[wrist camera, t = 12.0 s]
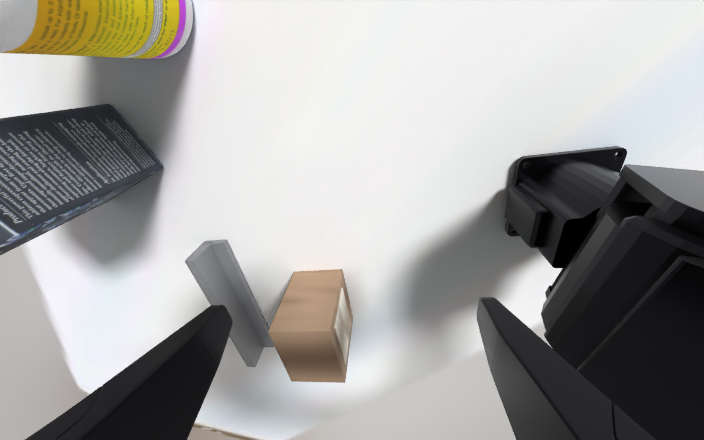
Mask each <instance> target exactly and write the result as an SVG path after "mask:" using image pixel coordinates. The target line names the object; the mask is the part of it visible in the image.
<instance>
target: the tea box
mask: <svg viewBox="0 0 704 440" xmlns="http://www.w3.org/2000/svg"><path fill="white" fill-rule="evenodd" d="M352 321H353V316H352V311H351V307H350V302H349V298H348V293H347V289H346V284H345V280H344V275H343V271H342V269H341V270H320V271H300V272H294V273H293V275H292V278H291V280H290V282H289V285H288V287H287V289H286V292H285V294H284V296H283V298H282V301H281V303H280V305H279V308H278V310H277V312H276V315H275V317H274V319H273V322H272V324H271V326H270V328H269V331H268V333H269V335H270V337H271V339H272V341H273V343H274V345H275V347H276V350H277V352H278V354H279V356H280V358H281V360H282V362H283V364H284V366H285V368H286V370H287V373H288V375H289V377H290V379H291V381H302V382H342V383H345V379H346V371H347V362H348V354H349V346H350V337H351V329H352Z"/></svg>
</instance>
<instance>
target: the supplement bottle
mask: <svg viewBox="0 0 704 440" xmlns="http://www.w3.org/2000/svg"><path fill="white" fill-rule="evenodd" d="M192 23H193V7H192V0H0V53H22V54H49V55H76V56H97V57H118V58H140V59H161V58H166V57H169V56H172V55H174V54H175V53H177V52H178V51H179V50H181V49H182V47H183V46H184V45H185V43H186V42H187V40H188V38H189V36H190V33H191V29H192Z"/></svg>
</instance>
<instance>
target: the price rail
mask: <svg viewBox="0 0 704 440" xmlns="http://www.w3.org/2000/svg"><path fill="white" fill-rule="evenodd" d="M185 263H186V264H187V266H188V268H189V269H190V271H191V273H192V274H193V276H194V278H195V279H196V281H197V283H198V284H199V286H200V288H201V289H202V291H203V293H204V294H205V296H206V298H207V299H208V301H209V303H210V304H211V305H214V304H223V305H225V306H226V308H227V310H228V312H229V313H230V315H231V317H232V320H233V324H232V328H231V331H230V334H229V336H230V338H231V340H232V341H233V343H234V345H235V346H236V348H237V350H238V351H239V353H240V355H241V356H242V358H243V360H244V361H245V363H246V365H247V366H248V367H256V364H257V362H258V360H259V357H260V355H261V353H262V350H263V348H264V347H274V346H275V345H274V343H273V341H272V339H271V337H270V335H269V333H268V331H269V328H268V326H267V324H266V322H265V320H264V318H263V316H262V313H261V311H260V309H259V307H258V305H257V303H256V301H255V299H254V296H253V294H252V292H251V290H250V288H249V286H248V284H247V282H246V279H245V277H244V275H243V273H242V271H241V269H240V267H239V264H238V262H237V260H236V258H235V256H234V254H233V252H232V250H231V247H230V245H229V243H228V241H227V240H216V241H205V242H203V243H202V244H201V245H200V246H199V247H198V248H197V249H196V250H195V251H194V252H193V253H192V254H191V255H190V256H189V257H188V258H187V259H186V260H185Z"/></svg>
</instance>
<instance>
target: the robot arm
mask: <svg viewBox="0 0 704 440" xmlns="http://www.w3.org/2000/svg"><path fill="white" fill-rule="evenodd" d="M617 152H618V154H617V155H616V156H615V157H613V156H614V154H615V153H617ZM626 155H627V151H626V149H624V148H622V147H619V146H614V147H605V148H595V149H586V150H577V151H568V152H558V153H549V154H540V155H530V156H524V157H521V158H520V159H519V160H518V161H517V163H516V168H515V174H514V180H513V185H512V186H511V187H510V188H509V192H508V199H507V205H506V211H505V218H506V219H507V221H506V227H505V231H506V232H507V234H508V235H509V236H521V237H522V239H523V240H524V241H525V242H526V244H527V245H528V246H529V247H531V248H537V249H538V250H539V251H540V252H541V254H542V255H543V256H544V257H545V258H546V259H547V261H548V262H549V263H550V264H551V265H552V267H554V268H563V269H562V270H561V272H560V274H559V275H558V277H557V278H556V280H555V282H554V283H553V285H552V286H549V287H548V289H547V291H546V298H547V300H546V301H545V303H544V305H543V309H542V312H541V315H542V319H543V323H544V326H545V329H546V332H545V333H544V336H545V338H546V339H547V341H548V342H549V344H550V345H551V347H552V348H553V349H552V348H551V347H550V346H549V345H548V344H546V343H545V342H544V341H543V340H542V339H541V338H540V337H538V336H537V335H536V334H535V333H534V332H533V331H532V330H531V329H529V328H528V327H527V326H526V325H525V324H524V323H523V322H521V321H520V320H519V319H518V318H517V317H516V316H515V315H513V314H512V313H511V312H510V311H509V310H508V309H507V308H506V307H504V306H503V305H502V304H501V303H500V302H499V301H498V300H496V299H495V298H493V297H481V298H480V299H479V302H478V309H477V321H478V325H479V329H480V333H481V337H482V341H483V345H484V348H485V352H486V356H487V360H488V364H489V367H490V371H491V374H492V376H493V379H494V382H495V385H496V387H497V390H498V392H499V395H500V398H501V400H502V403H503V406H504V408H505V411H506V414H507V416H508V419H509V421H510V424H511V426H512V429H513V432H514V435H515V437H516V440H704V171H697V170H685V169H674V168H662V167H651V166H639V165H624V167H623V169H622V170H621V168H622V166H623V163H624V160H625V158H626ZM526 161H528V163H527V165H526V166H522V165H523V163H524V162H526ZM620 171H621V172H620ZM512 229H515V230H514V231H511V230H512ZM232 324H233V320H232V317H231V315H230V313H229V312H228V310H227V308H226V306H225V305H223V304H214V305H211V306H210V307H208V308H207V309H206V310H204V311H203V312H202V313H200V314H199V315H198V316H196V317H195V318H194V319H192V320H191V321H189V322H188V323H187V324H185V325H184V326H183V327H181V328H180V329H179V330H177V331H176V332H174V333H173V334H172V335H170V336H169V337H168V338H166V339H165V340H164V341H162V342H161V343H159V344H158V345H157V346H155V347H154V348H153V349H151V350H150V351H149V352H147V353H146V354H144V355H143V356H142V357H140V358H139V359H138V360H136V361H135V362H134V363H132V364H131V365H129V366H128V367H127V368H125V369H124V370H123V371H121V372H120V373H119V374H117V375H116V376H114V377H113V378H112V379H110V380H109V381H108V382H106V383H105V384H104V385H103V386H102V387H99V388H98V389H97V390H95V391H94V392H93V393H91V394H90V395H89V396H87V397H86V398H85V399H83V400H82V401H80V402H79V403H77V404H76V405H75V406H73V407H72V408H70V409H69V410H68V411H66V412H65V413H63V414H62V415H61V416H59V417H58V418H56V419H55V420H53V421H52V422H50V423H49V424H47V425H46V426H44V427H43V428H42V429H40V430H39V431H37V432H36V433H34V434H33V435H31V436H30V437H28V438H27V439H25V440H187V438H188V436H189V433H190V431H191V429H192V427H193V424H194V422H195V420H196V418H197V415H198V413H199V411H200V408H201V406H202V404H203V401H204V399H205V397H206V394H207V392H208V390H209V388H210V385H211V383H212V381H213V378H214V376H215V374H216V371H217V369H218V366H219V364H220V361H221V358H222V355H223V352H224V349H225V346H226V343H227V340H228V337H229V334H230V331H231V328H232Z"/></svg>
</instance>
